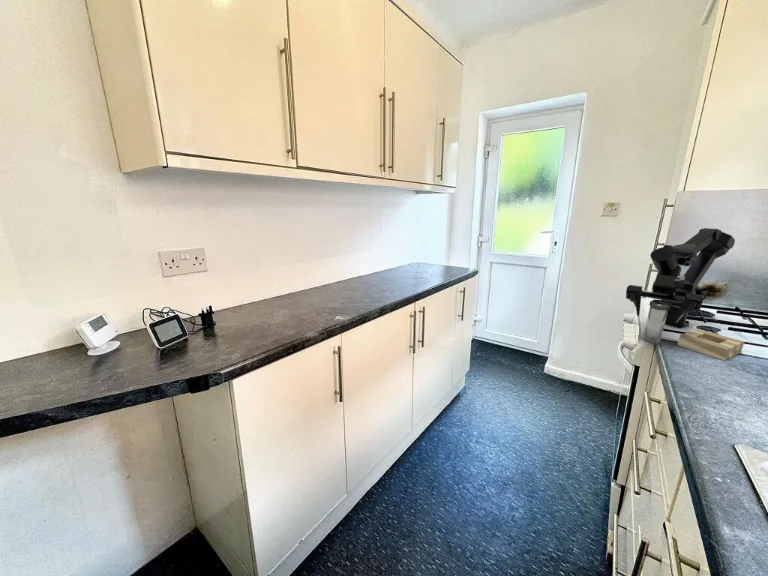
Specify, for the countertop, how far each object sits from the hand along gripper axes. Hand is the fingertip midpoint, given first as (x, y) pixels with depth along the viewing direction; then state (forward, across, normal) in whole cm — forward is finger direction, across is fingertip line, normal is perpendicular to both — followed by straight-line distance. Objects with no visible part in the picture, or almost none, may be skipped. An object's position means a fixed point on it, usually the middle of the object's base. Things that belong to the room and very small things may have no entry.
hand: (655, 319), depth 100 cm
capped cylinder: (+5, 0, +7) cm, 8 cm away
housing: (+1, +13, +10) cm, 17 cm away
